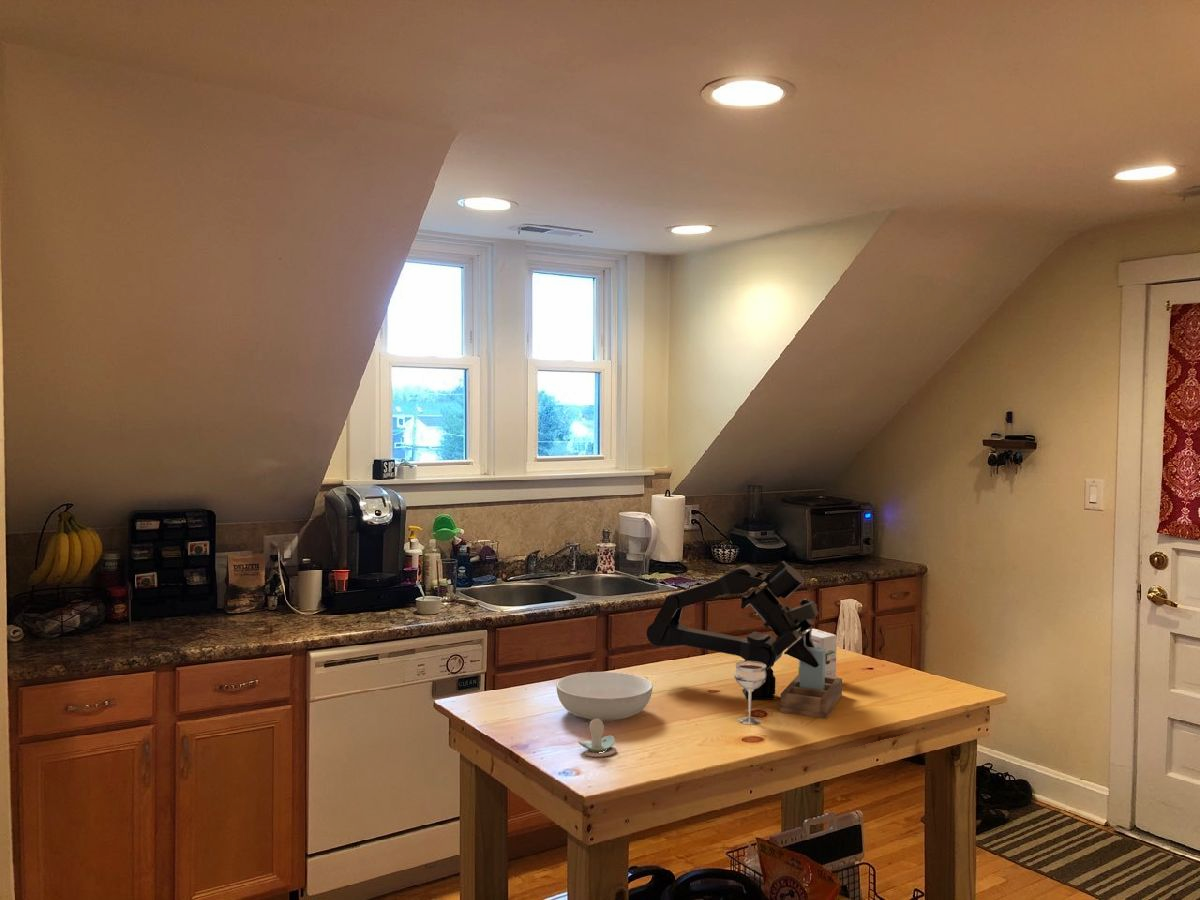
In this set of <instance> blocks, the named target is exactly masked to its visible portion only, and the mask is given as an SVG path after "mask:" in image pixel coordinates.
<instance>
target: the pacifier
mask: <svg viewBox="0 0 1200 900" xmlns="http://www.w3.org/2000/svg"><path fill="white" fill-rule="evenodd" d="M588 726H589V732H590V734H591V738H590V739H591V743H590V742H584V741H578V744H579V745H580V746H582V747H583V748H585V749H587V750H585V755H586V756H587V757H591V758H603V756H605V757H609V756H611V755H614V754H616V753H617V751H618V749H617V748H616V747H613V745H614V744H615V741H616V740H615V737H614V736H613V735H606V736H603V733H604V730H605V727H604V721H601V720H600V719H594V720H591V721H590V723H589V725H588ZM602 736H603V737H602ZM606 749H607V750H606ZM605 750H606V751H605ZM610 750H611V751H610ZM603 751H605V752H603ZM599 752H603V753H599Z"/></svg>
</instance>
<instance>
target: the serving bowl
mask: <svg viewBox="0 0 1200 900" xmlns="http://www.w3.org/2000/svg"><path fill="white" fill-rule="evenodd" d="M555 686H556V692H557V693H556V694H557V697H558V700H559V702H560V704H561V705H562V706H563V708H564V709H565V710H566V711H568V712H570V713H571V714H573V715H575V716H577V717H580V718H583V719H587V720H591V721H592V720H594V719H600V720H601V721H602V722H612V721H613V720H614V721H619V720H623V719H627V718H630V717H632V716H635V715H637V714H639V713H641V712H642V711H643V710H644V709H645V708H646V707H647V706H648V704H649V702H650V700H651V698H652V694H653V688H654V686H653V683H652V682H651V681H650V680H648V679H647V678H645V677H642V676H639V675H635V674H630V673H624V672H614V671H594V672H593V671H592V672H591V671H587V672H580V673H576V674H575V673H574V674H571V675H567V676H564V677H561V678H560V679H558V680H557V682H556V685H555ZM618 719H619V720H618ZM614 721H613V722H614Z"/></svg>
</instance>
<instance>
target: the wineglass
mask: <svg viewBox="0 0 1200 900" xmlns="http://www.w3.org/2000/svg"><path fill="white" fill-rule="evenodd" d="M734 665H735V670H734V676H733V677H734V679H735V682H736V683H737V684H738V685H739V687H742V689H744V688H745V689H746V690H747V691H748V699H747V700H748V703H747V705H748V708H747V709H748V716H742V717H739V718H738V719H737V722H739V723H740V724H743V725H748V726H749V725H750V726H751V725H754V726H755V725H758V724H759V725H760V724H761V723H762V720H761V719H760V718H757V717H754V716H751V713H752V711H751V710H752V700H753V699H752V692H753V691H754V689H757V688H759V687H760V686H761V685H763V684H764V682H765V680H766V671H765V668H766V665H765V664H764V663H761V662H756V661H744V660H742V661H741V660H740V661H737V662H735V663H734Z"/></svg>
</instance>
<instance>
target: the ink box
mask: <svg viewBox="0 0 1200 900" xmlns="http://www.w3.org/2000/svg"><path fill="white" fill-rule="evenodd" d="M810 629H811V628H808V629H807V630H806V631H807V632H808V631H809V630H810ZM811 640H812V642H813V644H814V646H815V648H823V649H826V653H825V676H827V677H835V678H837V675H836V674H837V646H838V645H837V641H838V639H837V635H836V634H834V633H831V632H827V631H824V630H820V629H816V628H812V632H811ZM797 672H798V674H799V673H800V660H798V671H797ZM798 674H797V675H798Z"/></svg>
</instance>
